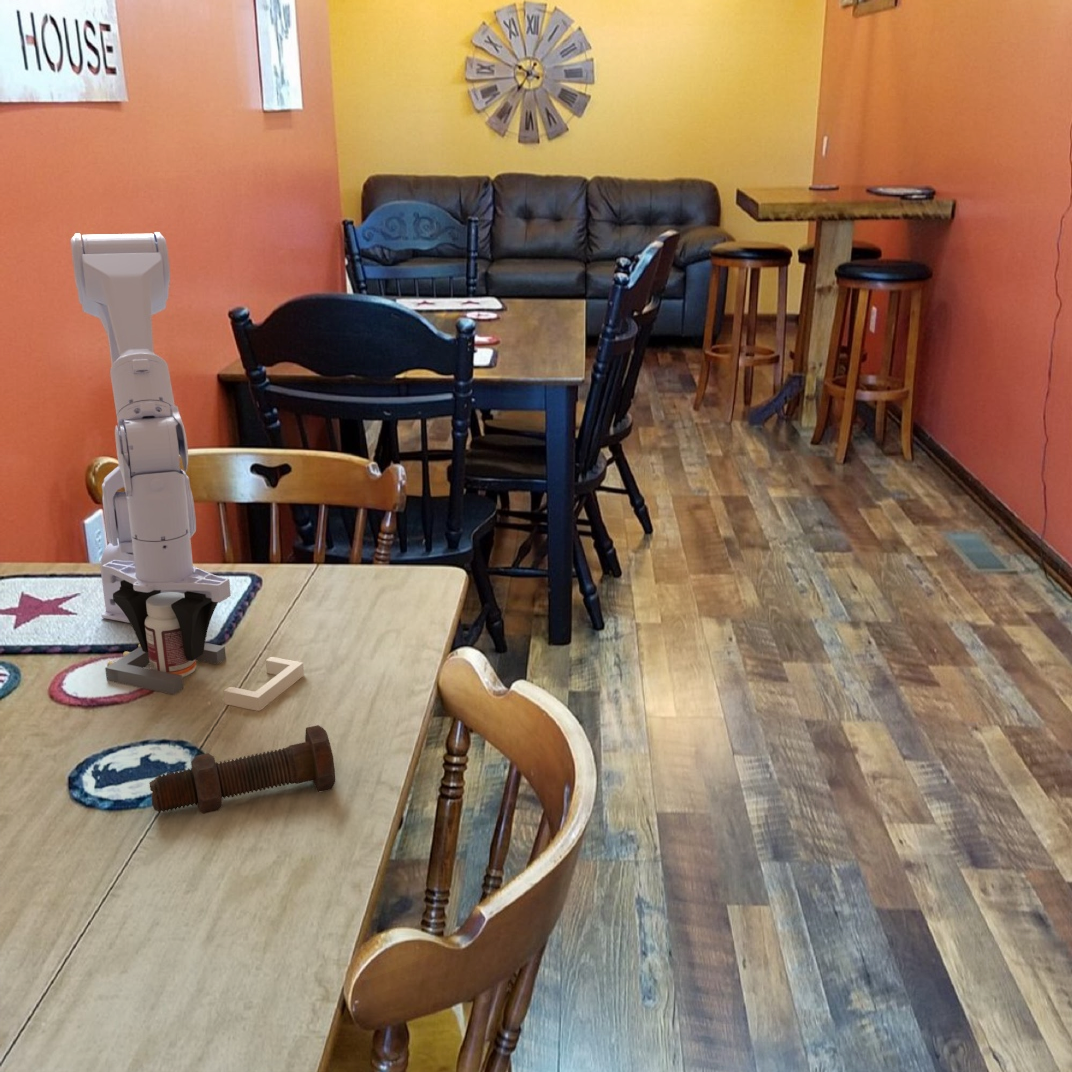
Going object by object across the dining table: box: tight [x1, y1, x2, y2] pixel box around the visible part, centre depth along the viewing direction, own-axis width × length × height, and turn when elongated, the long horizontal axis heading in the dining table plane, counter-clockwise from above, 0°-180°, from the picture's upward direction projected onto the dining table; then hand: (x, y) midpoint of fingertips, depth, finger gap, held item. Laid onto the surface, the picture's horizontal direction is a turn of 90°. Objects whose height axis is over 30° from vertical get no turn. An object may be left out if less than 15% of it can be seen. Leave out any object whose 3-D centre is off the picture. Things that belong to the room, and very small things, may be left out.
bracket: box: [223, 656, 305, 712], centre depth 116 cm, size 4×8×2 cm, turn 160°
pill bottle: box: [145, 592, 197, 679], centre depth 119 cm, size 5×5×8 cm
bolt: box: [149, 724, 336, 814], centre depth 97 cm, size 6×5×15 cm
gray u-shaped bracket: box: [104, 642, 227, 696], centre depth 120 cm, size 10×9×2 cm
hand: (173, 652), depth 119 cm, fingers open, 5 cm apart
